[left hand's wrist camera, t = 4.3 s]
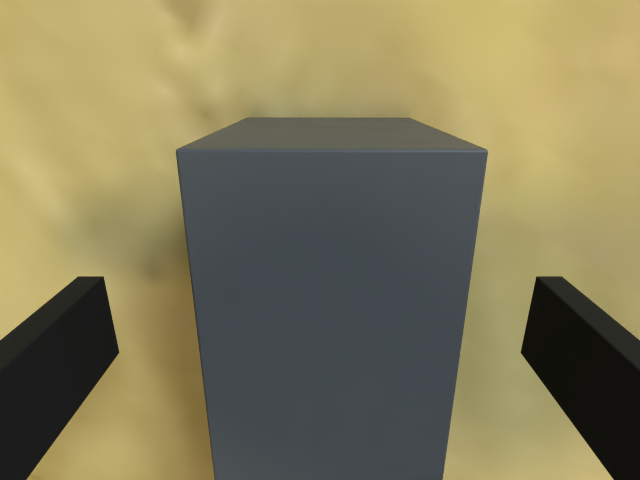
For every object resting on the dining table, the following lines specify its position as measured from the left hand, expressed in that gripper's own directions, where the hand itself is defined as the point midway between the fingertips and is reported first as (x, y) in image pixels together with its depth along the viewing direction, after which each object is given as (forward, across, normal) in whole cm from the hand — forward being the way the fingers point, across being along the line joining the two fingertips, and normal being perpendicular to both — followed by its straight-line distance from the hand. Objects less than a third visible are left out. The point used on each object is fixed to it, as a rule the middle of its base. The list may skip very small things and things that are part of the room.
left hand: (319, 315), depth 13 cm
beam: (+4, 0, -25) cm, 25 cm away
